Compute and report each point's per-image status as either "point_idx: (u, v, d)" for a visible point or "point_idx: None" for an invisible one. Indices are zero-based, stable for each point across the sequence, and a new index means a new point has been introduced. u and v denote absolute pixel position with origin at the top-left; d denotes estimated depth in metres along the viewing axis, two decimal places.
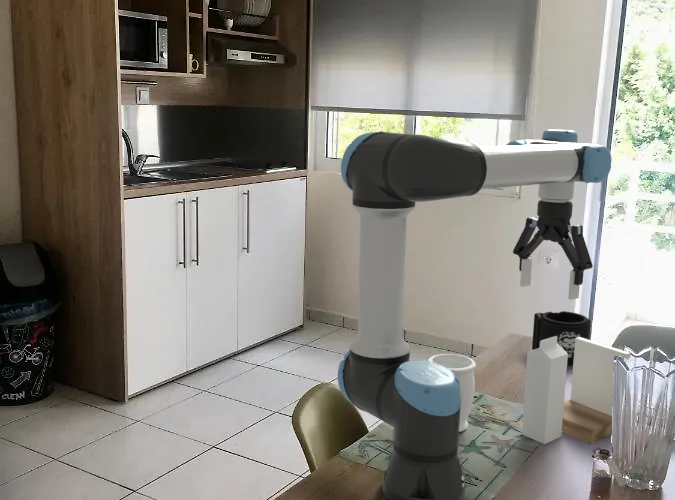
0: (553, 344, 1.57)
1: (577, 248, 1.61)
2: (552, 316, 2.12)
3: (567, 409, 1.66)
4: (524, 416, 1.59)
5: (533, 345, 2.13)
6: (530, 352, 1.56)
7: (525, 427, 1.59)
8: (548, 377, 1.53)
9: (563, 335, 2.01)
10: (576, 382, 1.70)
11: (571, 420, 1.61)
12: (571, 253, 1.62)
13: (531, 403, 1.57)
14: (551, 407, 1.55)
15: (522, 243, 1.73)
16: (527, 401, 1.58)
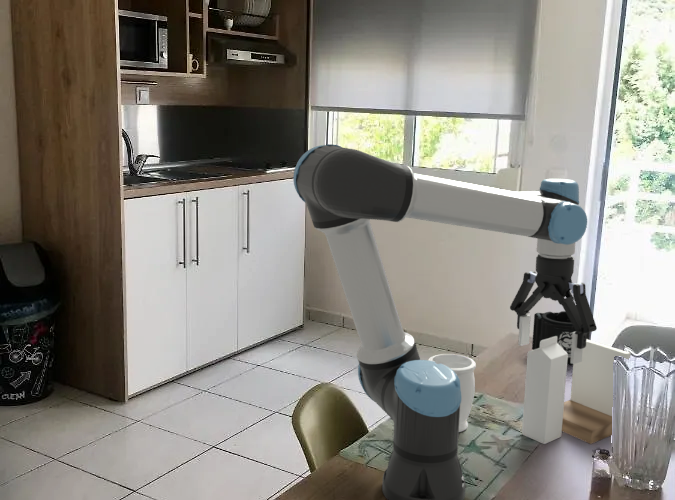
0: (553, 344, 1.57)
1: (579, 309, 1.47)
2: (552, 316, 2.12)
3: (567, 409, 1.66)
4: (524, 416, 1.59)
5: (533, 345, 2.13)
6: (530, 352, 1.56)
7: (525, 427, 1.59)
8: (548, 377, 1.53)
9: (563, 335, 2.01)
10: (576, 382, 1.70)
11: (571, 420, 1.61)
12: (573, 314, 1.49)
13: (531, 403, 1.57)
14: (551, 407, 1.55)
15: (520, 299, 1.60)
16: (527, 401, 1.58)
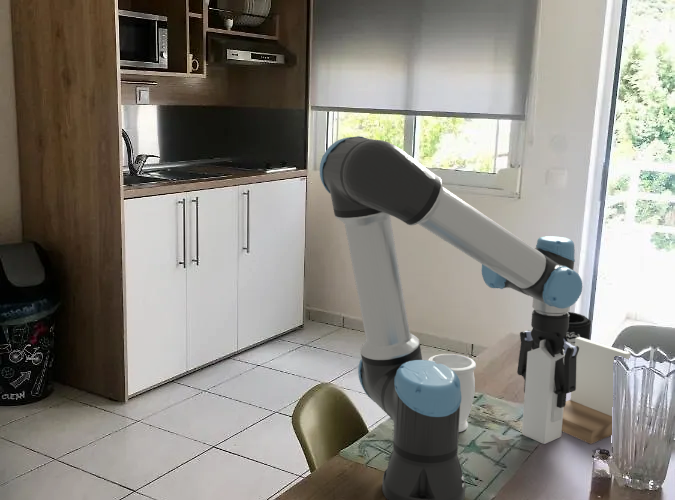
0: None
1: (566, 370, 1.51)
2: None
3: (567, 409, 1.66)
4: (524, 416, 1.59)
5: (533, 345, 2.13)
6: (530, 352, 1.56)
7: (525, 427, 1.59)
8: (548, 377, 1.53)
9: None
10: (576, 382, 1.70)
11: (571, 420, 1.61)
12: (558, 374, 1.53)
13: (531, 403, 1.57)
14: (551, 407, 1.55)
15: (524, 361, 1.61)
16: (527, 401, 1.58)
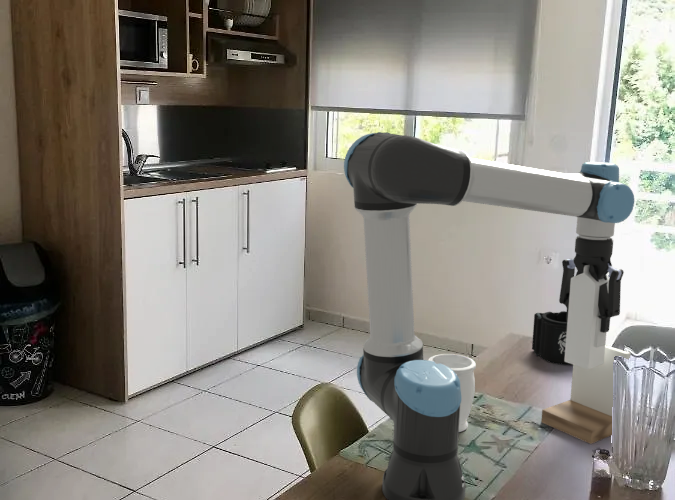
0: None
1: (610, 294, 1.53)
2: (552, 316, 2.12)
3: (567, 409, 1.66)
4: (567, 343, 1.60)
5: (533, 345, 2.13)
6: (574, 278, 1.57)
7: (568, 354, 1.61)
8: (592, 301, 1.54)
9: (563, 335, 2.01)
10: (576, 382, 1.70)
11: (571, 420, 1.61)
12: (602, 298, 1.54)
13: (574, 329, 1.59)
14: (594, 332, 1.56)
15: (566, 289, 1.62)
16: (570, 328, 1.59)
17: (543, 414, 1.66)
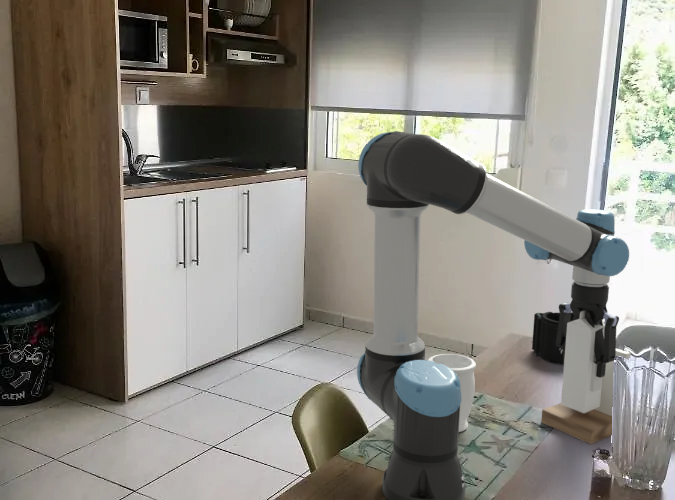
0: None
1: (606, 340, 1.55)
2: (552, 316, 2.12)
3: (567, 409, 1.66)
4: (563, 386, 1.62)
5: (533, 345, 2.13)
6: (570, 323, 1.59)
7: (564, 397, 1.63)
8: (588, 347, 1.56)
9: None
10: None
11: (571, 420, 1.61)
12: (598, 344, 1.56)
13: (571, 373, 1.61)
14: (590, 377, 1.58)
15: (562, 333, 1.64)
16: (566, 371, 1.61)
17: (543, 414, 1.66)
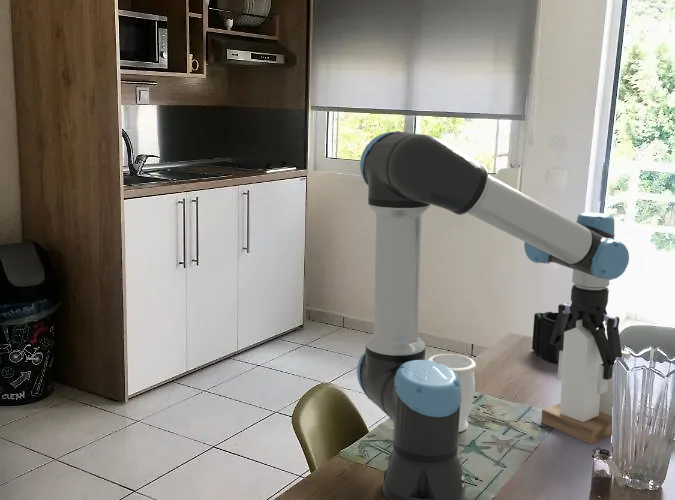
0: None
1: (610, 342, 1.54)
2: (552, 316, 2.12)
3: None
4: (562, 396, 1.63)
5: (533, 345, 2.13)
6: (567, 332, 1.60)
7: (563, 406, 1.63)
8: (585, 356, 1.57)
9: None
10: None
11: (571, 420, 1.61)
12: (603, 346, 1.56)
13: (569, 383, 1.61)
14: (588, 386, 1.59)
15: (558, 332, 1.65)
16: (565, 381, 1.62)
17: (543, 414, 1.66)
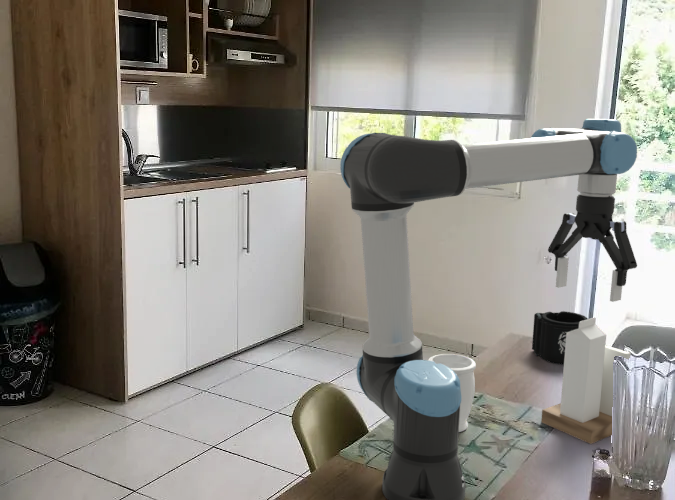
0: (592, 325, 1.60)
1: (620, 246, 1.49)
2: (552, 316, 2.12)
3: None
4: (562, 396, 1.63)
5: (533, 345, 2.13)
6: (569, 333, 1.60)
7: (563, 406, 1.63)
8: (587, 357, 1.57)
9: (563, 335, 2.01)
10: None
11: (571, 420, 1.61)
12: (613, 251, 1.51)
13: (570, 383, 1.61)
14: (589, 387, 1.59)
15: (558, 241, 1.62)
16: (566, 381, 1.62)
17: (543, 414, 1.66)
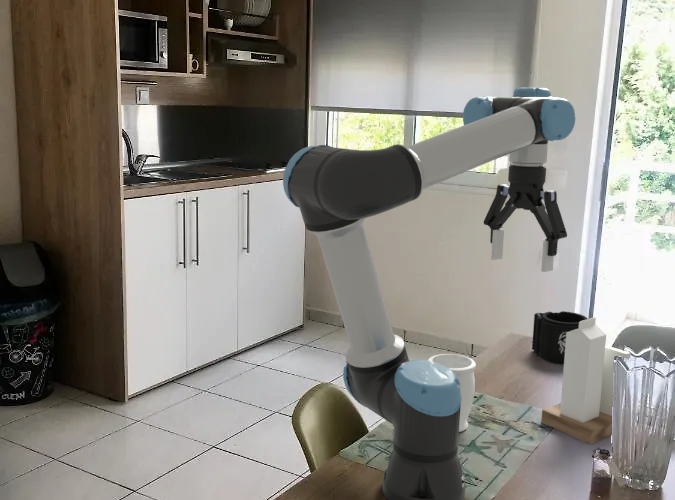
0: (591, 325, 1.60)
1: (550, 215, 1.48)
2: (552, 316, 2.12)
3: None
4: (562, 396, 1.63)
5: (533, 345, 2.13)
6: (569, 333, 1.60)
7: (563, 406, 1.63)
8: (587, 357, 1.57)
9: (563, 335, 2.01)
10: None
11: (571, 420, 1.61)
12: (544, 221, 1.50)
13: (570, 383, 1.61)
14: (589, 387, 1.59)
15: (493, 213, 1.61)
16: (565, 381, 1.62)
17: (543, 414, 1.66)
